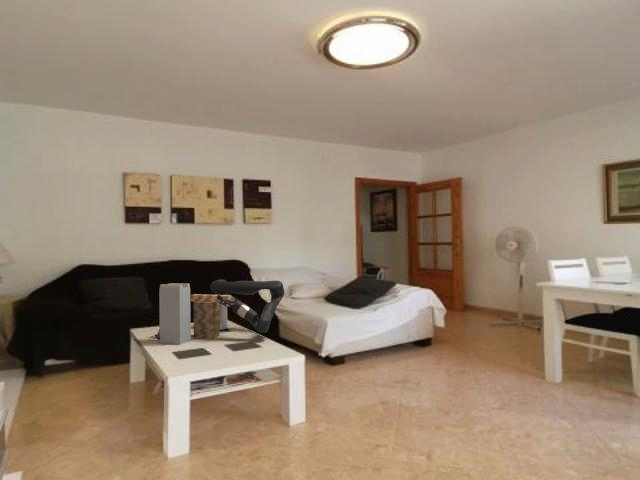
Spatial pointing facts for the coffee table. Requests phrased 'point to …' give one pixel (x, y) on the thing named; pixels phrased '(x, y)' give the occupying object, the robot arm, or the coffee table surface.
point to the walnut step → (206, 320)
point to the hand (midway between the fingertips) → (221, 295)
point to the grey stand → (174, 313)
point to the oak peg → (207, 298)
